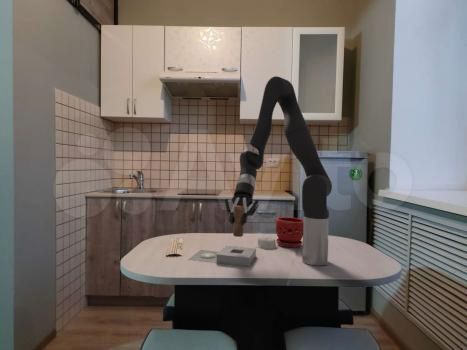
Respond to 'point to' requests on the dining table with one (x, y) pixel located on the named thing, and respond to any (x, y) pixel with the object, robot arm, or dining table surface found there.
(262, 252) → the dining table surface
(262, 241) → the mechanical component
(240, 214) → the walnut plug
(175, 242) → the newspaper
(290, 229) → the plant pot
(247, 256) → the socket board
